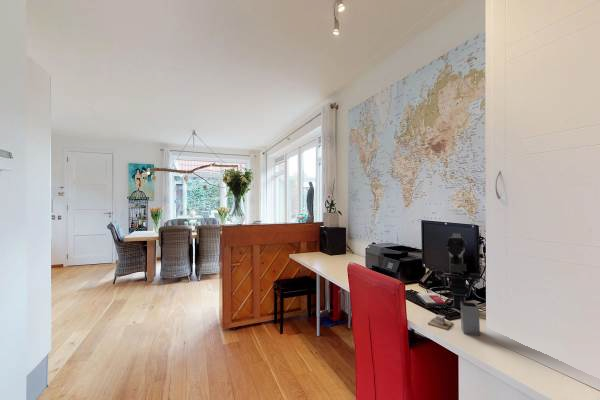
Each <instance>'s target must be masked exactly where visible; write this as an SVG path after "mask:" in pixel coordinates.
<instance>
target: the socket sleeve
mask: <svg viewBox="0 0 600 400" xmlns="http://www.w3.org/2000/svg"><path fill="white" fill-rule="evenodd" d="M460 306H461V309H460V325H461V328H460V329H461V331H462V333H463V334H464V335H471V336H476V337H480V336H481V331H480V330H481V329H480V327H481V325H480V308H479V306H478V304H477V303H476V302H470V301H465V302H462V301H460Z"/></svg>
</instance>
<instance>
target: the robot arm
mask: <svg viewBox="0 0 600 400" xmlns="http://www.w3.org/2000/svg"><path fill="white" fill-rule="evenodd" d="M446 248H447V250H448V251H447V252H448V254H449V255H448V256H449V265H448V269H449V270H448V271H449V272H445V270H444V269H435V270H434V277H435V278H437V279H438V280H440V281H441V283H442V286H443V289H444V292H445V293H447V284H446V277H447V278H448V277H450V278H451V280H450V284H449V296H452V300H453V301H452V302H453V303H452V304H451V308H454V309H460V310H461V306H460V301H462V302H466V299H468V298H470V293H471V290H472V288H473V286H474V284H477V283H480V282H481V277H480V274H479V273H476V272H469V274H465V273H464V272H467V263H464V253H465V251H466V250H465V249H466V248H467V240H466V238H465V236H464V235H463V233H462V232H452V233H451V236H449V237H448V238H447V239H446ZM465 279H468V286H467V282H466V280H465Z"/></svg>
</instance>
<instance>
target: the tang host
mask: <svg viewBox="0 0 600 400" xmlns="http://www.w3.org/2000/svg"><path fill="white" fill-rule="evenodd" d="M445 317H446V315H441V314H437V315H435V317H433V318H432V319H430V320H429V322H427V325H429V326H432V327H436V328H439V329H442V330H446V331H448V330H449V329H450V328H451V327H452V326H453V325H454V322H452V321H450V320H447V319H446V318H445Z"/></svg>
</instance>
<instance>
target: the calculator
mask: <svg viewBox="0 0 600 400" xmlns="http://www.w3.org/2000/svg"><path fill="white" fill-rule="evenodd" d="M415 296H417V297H418V298H419V299H420V300H421V301H422V302H423V303H424V304H425V305H426V306H434V305H445V306H447V307H448V304H447V302H446V301H445V300H443V299H442V297H440V296H439V295H437V294H436V293H435V292H417V293H416V294H415Z"/></svg>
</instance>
